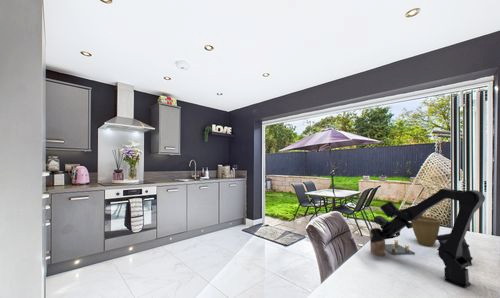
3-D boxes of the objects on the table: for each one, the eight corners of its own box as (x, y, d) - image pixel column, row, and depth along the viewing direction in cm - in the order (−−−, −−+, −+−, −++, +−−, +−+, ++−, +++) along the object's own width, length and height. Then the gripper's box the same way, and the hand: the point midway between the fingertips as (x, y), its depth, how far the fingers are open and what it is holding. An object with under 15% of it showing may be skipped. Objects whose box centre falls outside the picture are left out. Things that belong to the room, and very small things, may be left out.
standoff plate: (415, 254, 118) (414, 246, 119) (392, 254, 118) (392, 247, 118) (397, 245, 131) (396, 239, 132) (376, 245, 130) (376, 239, 131)
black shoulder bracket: (478, 265, 103) (458, 232, 109) (447, 267, 113) (431, 236, 120) (481, 263, 104) (461, 231, 111) (450, 265, 114) (434, 236, 121)
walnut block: (385, 254, 117) (384, 230, 118) (379, 256, 115) (379, 231, 116) (375, 251, 122) (375, 227, 123) (370, 252, 119) (370, 228, 120)
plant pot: (448, 249, 127) (447, 221, 129) (423, 248, 128) (421, 220, 129) (428, 240, 142) (427, 215, 143) (405, 240, 142) (404, 215, 144)
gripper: (393, 210, 121) (374, 225, 130) (373, 213, 112) (354, 229, 121) (409, 228, 114) (388, 243, 123) (390, 233, 105) (368, 248, 114)
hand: (375, 240), depth 120 cm, fingers open, 7 cm apart
